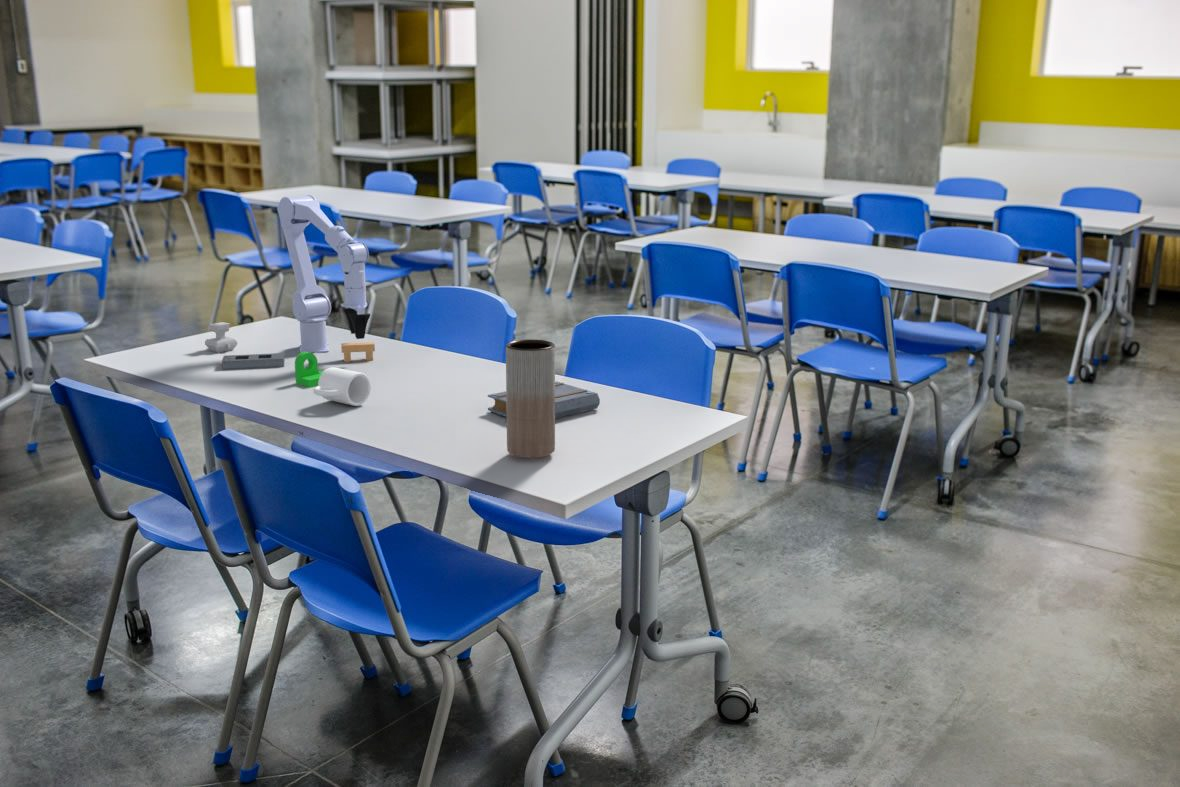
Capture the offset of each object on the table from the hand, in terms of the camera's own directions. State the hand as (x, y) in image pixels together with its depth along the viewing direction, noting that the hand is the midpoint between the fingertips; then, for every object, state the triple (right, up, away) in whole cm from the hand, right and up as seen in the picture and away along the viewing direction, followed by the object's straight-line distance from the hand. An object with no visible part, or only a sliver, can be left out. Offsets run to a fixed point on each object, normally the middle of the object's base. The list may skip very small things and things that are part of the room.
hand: (357, 335), depth 307 cm
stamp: (-42, -4, +12) cm, 44 cm away
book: (+54, -20, -45) cm, 73 cm away
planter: (+52, -28, -76) cm, 97 cm away
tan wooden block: (0, -7, +2) cm, 7 cm away
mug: (+4, -19, -42) cm, 46 cm away
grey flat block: (-27, -8, -5) cm, 29 cm away
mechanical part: (-5, -13, -20) cm, 24 cm away
